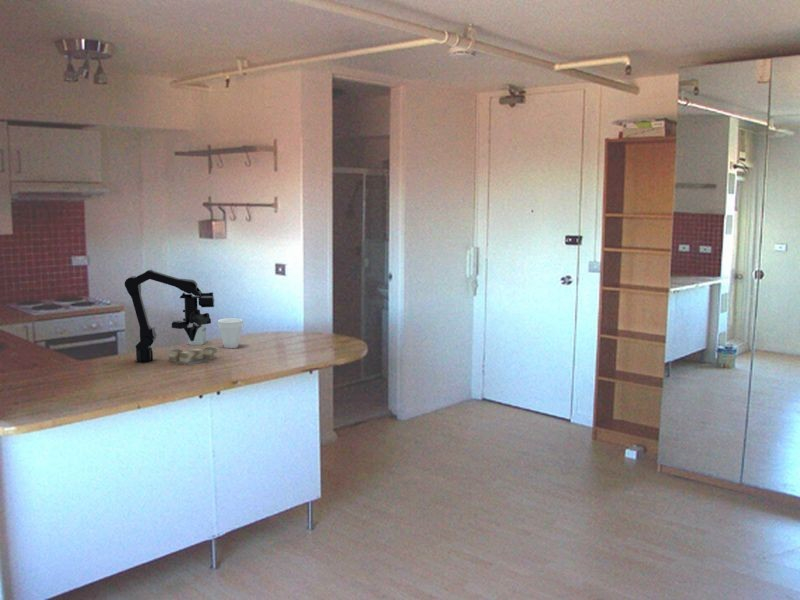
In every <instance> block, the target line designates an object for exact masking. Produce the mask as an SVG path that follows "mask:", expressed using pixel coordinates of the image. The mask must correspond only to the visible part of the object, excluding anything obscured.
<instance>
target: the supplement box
mask: <svg viewBox="0 0 800 600" xmlns="http://www.w3.org/2000/svg"><path fill="white" fill-rule="evenodd" d="M206 343H207V324H205V325H204V324H203V325H201V327H200V328H199V329H198V330H197V332H196V335H195V338H194V341H191V340H190V338H189V337H188V345H189V346H203V345H204V344H206Z"/></svg>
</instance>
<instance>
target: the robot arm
mask: <svg viewBox="0 0 800 600" xmlns="http://www.w3.org/2000/svg"><path fill="white" fill-rule="evenodd" d="M149 280H152V281H155V282H158V283H162V284H164V285H169V286H172V287H175V288H177V289H178V290H180V291H182V292H183V293H182V294H180V296H179V299H183V303H184V309H182V313H184V318H182V320H175V321H172V322H171V328H173V329H178V330H179V329H180V330H182V329H183V330H184V331H185V332H186V334H187V336H188V339H189V338H190V340H191V341H194V338H195V335H196V332H197V330H198V329H199V328H200V327H201V325H203V324H204V325H205V324H206V325H209V324H212V319H211V318H210V317H211V316H210V313H209V312H206V313H205V312H204V313H201V310H200V309H198V306H200V307H201V308H214V307H215V297H214V292H213V291H212V292H202V291H201V289H200V288H199V286H198V283H197V281H196V280H194V279H187V278H179V277H176V276H171V275H168V274H164V273H162V272H159V271H155V270H154V269H147V271H145V272H143V273H141V274H139V275H137V276H135V275H132V276H130V277H128V278H126V279H125V281H124V287H125V289H126V292H127V293H128V294H129V296H130V297H131V300H132V303H133V308H134V311H135V315H136V319H137V323H138V326H139V342H138V343H137V344H136V345H135V354H136V355H135V356H136V357H135V358H136V360H134V362H135V363H140V364H141V363H142V364H145V363H151V362H155V359H153V358H154V353H153V348H152V347H151V346H152V345H153V344H154V342H155V341H156V337H157V336H158V335H157V333H156V331H155V330H156V329H155V327H151V325H150V323H149V320H148V319H149V318H148V315H147V312H146V308H145V305H144V302H143V298H142V283H143V284H144V283H145V282H147V281H149Z"/></svg>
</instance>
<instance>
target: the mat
mask: <svg viewBox="0 0 800 600" xmlns="http://www.w3.org/2000/svg"><path fill="white" fill-rule="evenodd" d="M216 359H217V358H215V359H214V360H216ZM211 360H213V359H211ZM211 360H210V359H204V358H203V359H199V360H194V361H190V362H181V361H177V362H176V363H177V364H178V363H179V364H184V365H189V366H190V365H191V366H192V365H194V364H198V363H203V362H207V361H211ZM172 362H173V363H175V362H174V361H172Z"/></svg>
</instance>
